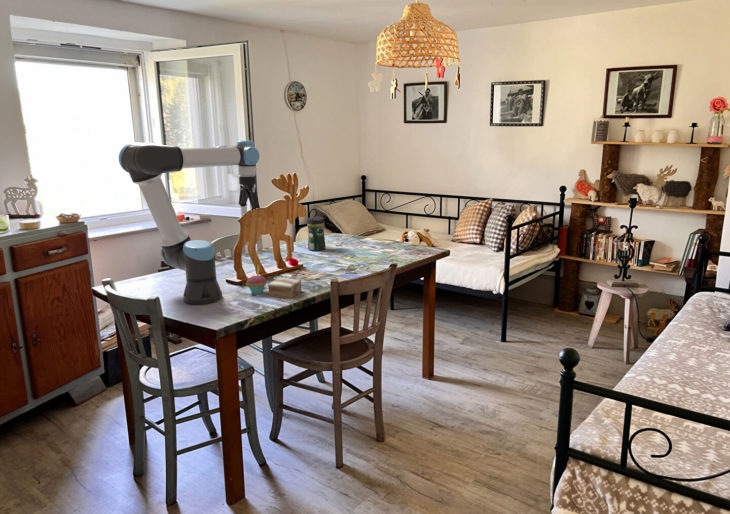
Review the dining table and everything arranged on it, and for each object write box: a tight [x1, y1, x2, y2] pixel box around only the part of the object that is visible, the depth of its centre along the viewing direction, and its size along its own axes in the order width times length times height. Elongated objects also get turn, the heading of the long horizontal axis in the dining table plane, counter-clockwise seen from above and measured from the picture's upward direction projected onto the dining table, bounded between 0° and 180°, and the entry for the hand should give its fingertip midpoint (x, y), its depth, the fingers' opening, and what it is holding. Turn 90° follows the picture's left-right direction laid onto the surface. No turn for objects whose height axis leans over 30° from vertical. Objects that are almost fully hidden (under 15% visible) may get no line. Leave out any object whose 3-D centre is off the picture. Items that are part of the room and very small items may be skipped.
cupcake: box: [245, 263, 267, 295], centre depth 228 cm, size 9×8×12 cm
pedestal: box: [267, 277, 302, 299], centre depth 227 cm, size 10×10×5 cm
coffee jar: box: [306, 216, 327, 252], centre depth 303 cm, size 10×8×19 cm
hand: (249, 222), depth 249 cm, fingers open, 13 cm apart
